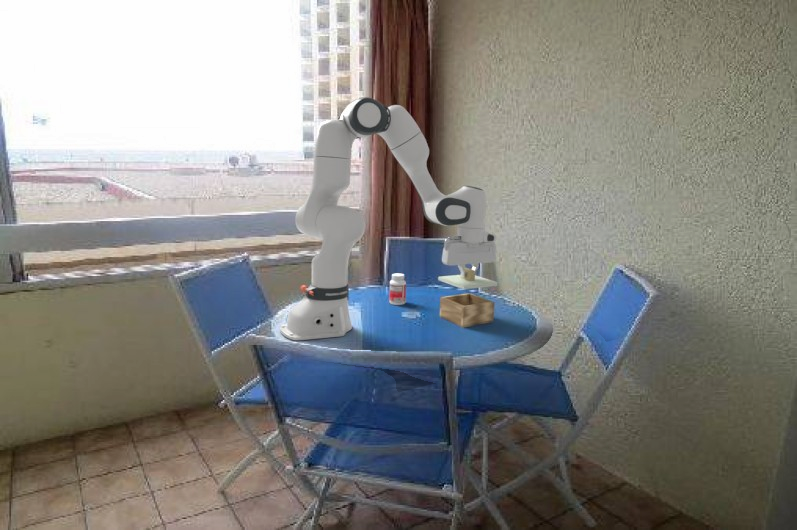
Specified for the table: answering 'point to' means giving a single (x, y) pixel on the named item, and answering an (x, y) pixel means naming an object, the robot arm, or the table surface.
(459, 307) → the box
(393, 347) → the table surface
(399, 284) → the pill bottle
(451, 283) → the lid
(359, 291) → the table surface
